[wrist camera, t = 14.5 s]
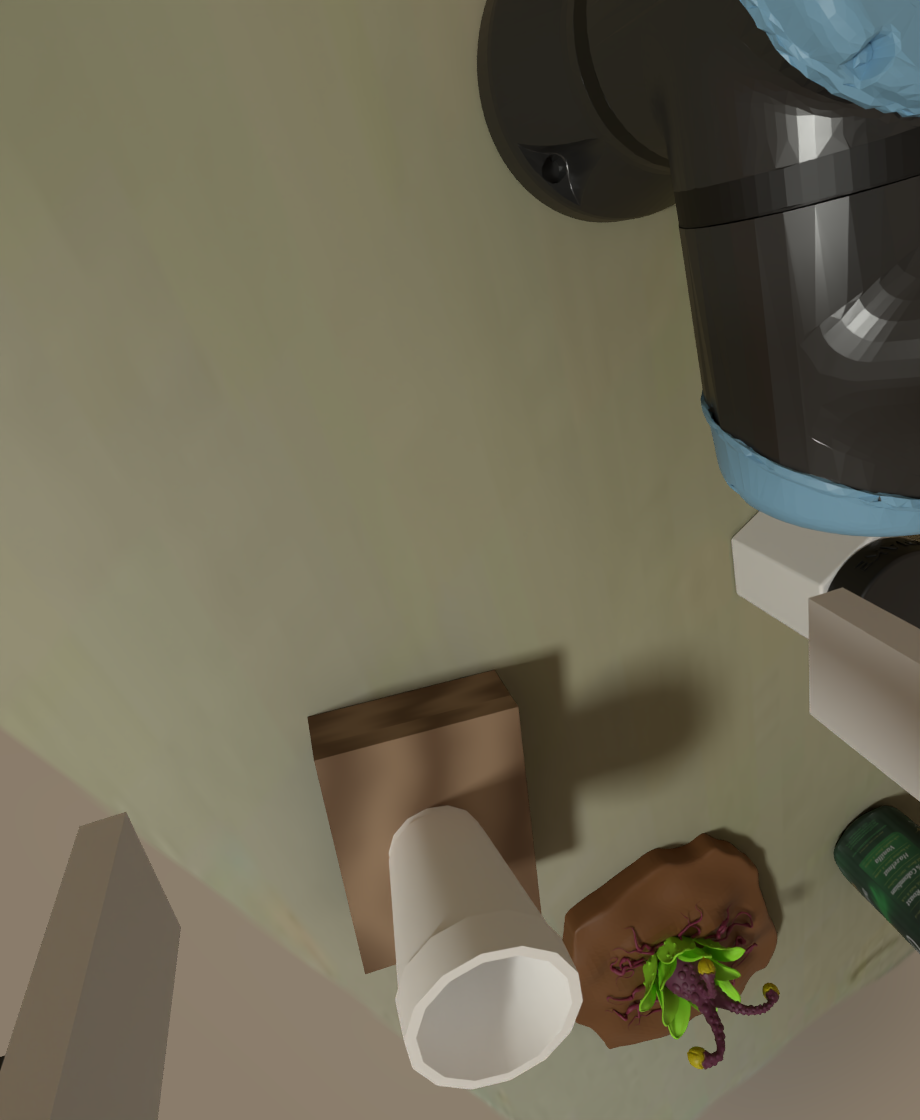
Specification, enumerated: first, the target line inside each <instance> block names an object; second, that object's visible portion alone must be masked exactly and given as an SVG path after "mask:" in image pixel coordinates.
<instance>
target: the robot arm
mask: <svg viewBox="0 0 920 1120" xmlns="http://www.w3.org/2000/svg"><path fill="white" fill-rule="evenodd" d="M477 74H478V86H479V94H480V99H481V104H482V109H483V113H484V117H485V120H486V123H487V126H488V129H489V132H490V134H491V137H492V139H493V142H494V144H495V146H496V148H497V150H498V152H499V154H500V156H501V157H502V159H503V161H504V162H505V164H506V165H507V167H508V168H509V170H510V171H511V173H512V174H513V175H514V176H515V178H516V179H517V180H518V181H519V182H520V183H521V185H522V186H523V187H524V188H525V189H526V190H527V191H528V192H529V193H531V194H532V195H533V196H534V197H535V198H537V199H538V200H539V201H541V202H542V203H543V204H545V205H546V206H548V207H550V208H552V209H553V210H555V211H557V212H559V213H561V214H564V215H566V216H569V217H572V218H575V219H579V220H584V221H589V222H617V221H623V220H629V219H635V218H640V217H644V216H648V215H651V214H654V213H656V212H659V211H661V210H663V209H665V208H667V207H669V206H671V205H673V204H675V203H676V208H677V215H678V221H679V231H680V238H681V244H682V251H683V257H684V264H685V271H686V278H687V285H688V292H689V299H690V305H691V312H692V319H693V326H694V333H695V340H696V347H697V354H698V360H699V367H700V374H701V381H702V388H703V390H702V396H701V406H702V410H703V413H704V416H705V418H706V420H707V422H708V423H709V425H710V426H711V431H712V436H713V441H714V445H715V450H716V455H717V460H718V464H719V468H720V470H721V473H722V475H723V477H724V479H725V480H726V482H727V484H728V485H729V486H730V487H731V488H732V489H733V490H734V491H735V492H737V493H738V494H740V496H741V497H742V498H743V499H744V500H745V501H746V503H748V504H749V505H751V506H752V507H754V508H755V509H757V510H759V511H760V512H762V513H764V514H767V515H769V516H771V517H773V518H775V519H778V520H780V521H783V522H786V523H789V524H792V525H795V526H799V527H802V528H807V529H811V530H816V531H821V532H827V533H833V534H840V535H850V536H864V537H894V536H907V535H917V534H920V0H487V1H486V5H485V8H484V12H483V16H482V20H481V26H480V31H479V39H478V51H477ZM808 614H809V694H810V714H811V715H812V716H813V717H815V718H816V719H817V720H818V721H820V722H821V723H822V724H823V725H825V726H826V727H827V728H828V729H830V730H831V731H832V732H833V733H835V734H836V735H837V736H838V737H840V738H841V739H842V740H843V741H845V742H846V743H847V744H848V745H850V746H851V747H852V748H853V749H855V750H856V751H857V752H858V753H860V754H861V755H862V756H863V757H865V758H866V759H867V760H868V761H870V762H871V763H872V764H873V765H875V766H876V767H877V768H878V769H880V770H881V771H882V772H883V773H885V774H886V775H887V776H888V777H890V778H891V779H892V780H893V781H895V782H896V783H897V784H898V785H900V786H901V787H902V788H903V789H905V790H906V791H907V792H908V793H910V794H911V795H912V796H913V797H915V798H916V799H917V800H918V801H920V629H919V628H917V627H915V626H913V625H911V624H909V623H908V622H906V621H904V620H902V619H900V618H898V617H896V616H895V615H893V614H891V613H889V612H887V611H885V610H883V609H882V608H880V607H878V606H876V605H874V604H872V603H870V602H869V601H867V600H865V599H863V598H861V597H859V596H857V595H856V594H854V593H852V592H850V591H848V590H846V589H844V588H843V587H842V588H839V589H836V590H833V591H830V592H826V593H823V594H820V595H817V596H814V597H810V598H808ZM180 929H181V927H180V924H179V923H178V920H177V918H176V916H175V914H174V912H173V910H172V908H171V906H170V904H169V901H168V899H167V897H166V895H165V893H164V891H163V889H162V887H161V885H160V882H159V881H158V878H157V876H156V874H155V872H154V870H153V868H152V866H151V863H150V861H149V859H148V857H147V855H146V853H145V851H144V849H143V847H142V845H141V843H140V840H139V838H138V836H137V834H136V832H135V830H134V828H133V826H132V824H131V821H130V819H129V817H128V815H127V813H126V812H124V813H121V814H118V815H115V816H111V817H108V818H105V819H102V820H99V821H95V822H92V823H89V824H86V825H83V826H80V827H79V830H78V833H77V836H76V839H75V842H74V845H73V848H72V852H71V855H70V858H69V861H68V864H67V867H66V870H65V873H64V876H63V879H62V882H61V886H60V888H59V892H58V895H57V898H56V901H55V904H54V907H53V910H52V913H51V916H50V919H49V923H48V925H47V928H46V932H45V935H44V938H43V941H42V944H41V947H40V950H39V953H38V956H37V959H36V962H35V966H34V968H33V972H32V975H31V978H30V981H29V984H28V987H27V990H26V993H25V996H24V999H23V1002H22V1005H21V1008H20V1012H19V1015H18V1018H17V1021H16V1024H15V1027H14V1030H13V1033H12V1036H11V1039H10V1042H9V1045H8V1048H7V1052H6V1055H5V1056H2V1057H0V1120H158V1112H159V1104H160V1095H161V1086H162V1079H163V1070H164V1062H165V1054H166V1046H167V1037H168V1028H169V1021H170V1012H171V1004H172V995H173V987H174V979H175V971H176V962H177V954H178V946H179V938H180Z"/></svg>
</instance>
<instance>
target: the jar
mask: <svg viewBox="0 0 920 1120" xmlns="http://www.w3.org/2000/svg"><path fill="white" fill-rule="evenodd" d="M731 542H732V552H733V562H734V572H735V582H736V592H737V594H738V595H739V596H741V597H742V598H744V599H746V600H747V601H749V602H750V603H752V604H753V605H755V606H757V607H758V608H760V609H761V610H763V611H765V612H766V613H768V614H769V615H771V616H772V617H774V618H776V619H777V620H779V621H780V622H782V623H783V624H785V625H787V626H788V627H790V628H791V629H793V630H794V631H796V632H798V633H799V634H801V635H802V636H804V637H805V638H807V639H809V614H808V598H810V597H814V596H817V595H820V594H823V593H826V592H830V591H833V590H836V589H839V588H842V587H843V588H844V589H846V590H848V591H850V592H852V593H854V594H856V595H857V596H859V597H861V598H863V599H865V600H867V601H869V602H870V603H872V604H874V605H876V606H878V607H880V608H882V609H883V610H885V611H887V612H889V613H891V614H893V615H895V616H896V617H898V618H900V619H902V620H904V621H906V622H908V623H909V624H911V625H913V626H915V627H917V628H919V629H920V542H919V541H915V540H913V539H910V538H908V537H905V536H894V537H864V536H850V535H840V534H833V533H827V532H821V531H816V530H811V529H807V528H802V527H799V526H795V525H792V524H789V523H786V522H783V521H780V520H778V519H775V518H773V517H771V516H769V515H767V514H764V513H762V512H760V511H759V512H758V513H757V514H756V515H755V516H754V517H753V518H752V519H751V520H750V521H749V522H748V523H747V524H746V525H745V526H744V527H743V528H742V529H741V530H740V531H738V532H737V533H736V534H735V535H734V536H733V538H732V540H731Z"/></svg>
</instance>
